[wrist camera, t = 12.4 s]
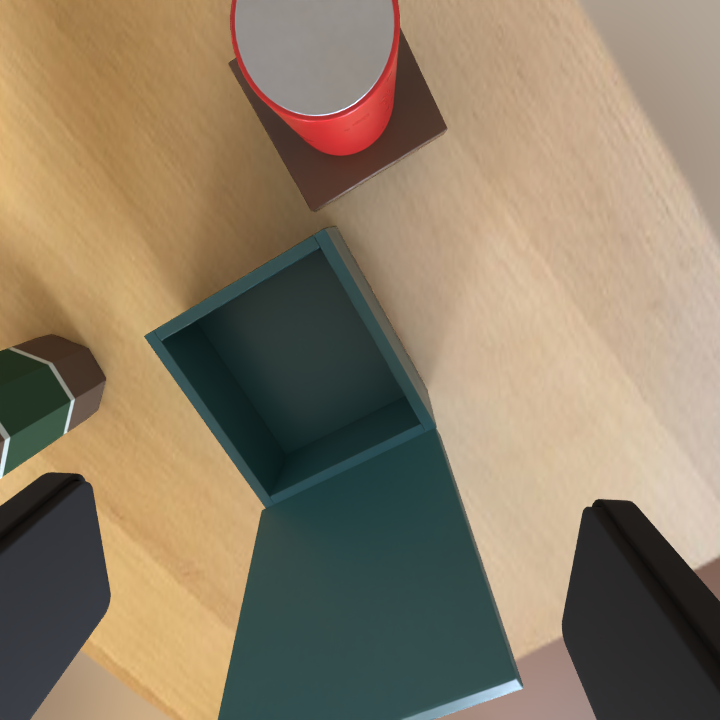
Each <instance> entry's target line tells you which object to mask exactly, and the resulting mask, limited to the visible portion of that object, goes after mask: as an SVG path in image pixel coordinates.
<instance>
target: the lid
mask: <svg viewBox="0 0 720 720" xmlns="http://www.w3.org/2000/svg"><path fill="white" fill-rule="evenodd" d="M522 688H523V684H522V681H521V678H520V675H519V672H518V669H517V666H516V663H515V660H514V657H513V654H512V651H511V647H510V644H509V641H508V638H507V635H506V632H505V629H504V626H503V623H502V620H501V617H500V614H499V611H498V608H497V605H496V602H495V599H494V596H493V593H492V590H491V587H490V584H489V581H488V578H487V575H486V572H485V569H484V566H483V563H482V560H481V557H480V554H479V551H478V548H477V545H476V542H475V539H474V536H473V533H472V530H471V526H470V523H469V520H468V517H467V514H466V511H465V508H464V505H463V502H462V499H461V496H460V493H459V490H458V487H457V484H456V481H455V478H454V475H453V472H452V469H451V466H450V463H449V460H448V457H447V454H446V451H445V448H444V445H443V442H442V439H441V436H440V434H439V432H438V431H437V429H436V428H433V429H431V430H429V431H427V432H425V433H423V434H421V435H418V436H416V437H414V438H412V439H410V440H408V441H406V442H404V443H402V444H400V445H398V446H395V447H393V448H391V449H389V450H387V451H385V452H383V453H381V454H379V455H377V456H375V457H372V458H370V459H368V460H366V461H364V462H362V463H360V464H358V465H356V466H354V467H351V468H349V469H347V470H345V471H343V472H341V473H339V474H337V475H335V476H333V477H331V478H328V479H326V480H324V481H322V482H320V483H318V484H316V485H314V486H312V487H310V488H308V489H305V490H303V491H301V492H299V493H297V494H295V495H293V496H291V497H289V498H287V499H284V500H282V501H280V502H278V503H276V504H274V505H272V506H270V507H268V508H266V509H264V510H262V512H261V517H260V522H259V527H258V531H257V536H256V541H255V546H254V550H253V555H252V560H251V565H250V569H249V574H248V579H247V584H246V588H245V593H244V598H243V603H242V607H241V612H240V617H239V622H238V626H237V631H236V636H235V641H234V645H233V650H232V655H231V660H230V664H229V669H228V674H227V679H226V683H225V688H224V693H223V698H222V702H221V707H220V712H219V717H218V720H433V719H436V718H439V717H442V716H445V715H448V714H451V713H454V712H456V711H459V710H462V709H465V708H468V707H471V706H474V705H477V704H480V703H483V702H485V701H488V700H491V699H494V698H497V697H500V696H503V695H505V694H508V693H511V692H514V691H517V690H520V689H522Z"/></svg>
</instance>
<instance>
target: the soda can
mask: <svg viewBox="0 0 720 720" xmlns="http://www.w3.org/2000/svg"><path fill="white" fill-rule="evenodd" d="M230 30H231V38H232V44H233V48H234V53H235V56H236V59H237V62H238V64H239V67H240V69H241V71H242V73H243V75H244V77H245V79H246V80H247V82H248V83H249V85H250V86H251V88H252V89H253V90H254V91H255V93H256V94H257V95H258V96H259V97H260V98H261V99H262V100H263V101H264V102H265V103H266V104H267V105H268V106H269V107H270V108H271V109H272V110H273V111H274V112H275V113H277V114H278V115H279V116H280V117H281V118H282V119H283V120H284V121H285V122H286V123H287V124H288V125H289V126H290V127H291V128H292V129H293V130H294V131H295V132H296V133H297V134H298V135H299V136H301V137H302V138H303V139H304V140H305V141H306V142H307V143H308V144H309V145H311V146H312V147H313V148H315V149H317V150H319V151H321V152H323V153H326V154H330V155H337V156H343V155H350V154H355V153H357V152H360V151H362V150H364V149H366V148H367V147H369V146H370V145H371V144H373V143H374V142H375V141H376V140H377V139H378V138H379V136H380V135H381V134H382V133H383V131H384V129H385V128H386V126H387V124H388V122H389V119H390V116H391V113H392V109H393V103H394V92H395V80H396V69H397V57H398V45H399V34H400V13H399V6H398V0H232V4H231V14H230Z"/></svg>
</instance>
